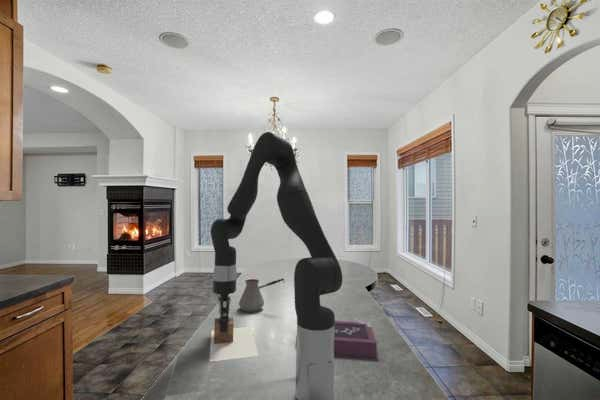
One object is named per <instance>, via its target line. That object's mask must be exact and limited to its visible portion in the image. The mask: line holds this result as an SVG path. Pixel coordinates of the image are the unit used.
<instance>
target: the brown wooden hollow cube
mask: <svg viewBox="0 0 600 400" xmlns="http://www.w3.org/2000/svg"><path fill="white" fill-rule="evenodd" d="M228 317H229V319H228V326H227V332H223V333H221V332H220V322H221V321H220V317H215V318H214V329H213V330H214V344H219V343H229V342H233V328H235V327H234V325H235V324H234V317H233V316H228Z"/></svg>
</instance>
